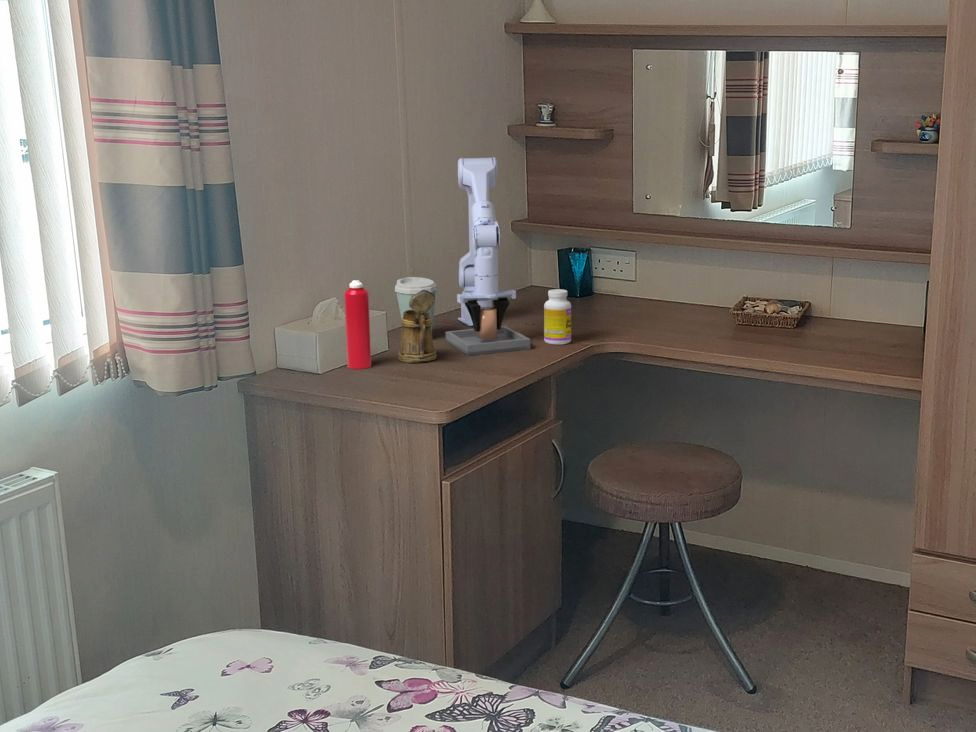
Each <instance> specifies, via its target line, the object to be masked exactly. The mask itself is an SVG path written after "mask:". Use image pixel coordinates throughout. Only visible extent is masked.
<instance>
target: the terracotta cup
mask: <svg viewBox="0 0 976 732" xmlns="http://www.w3.org/2000/svg"><path fill="white" fill-rule="evenodd" d="M479 321H480V331H479V332H477V338H479V339H494V338H497V308H495V307H494V306H492V307H481V308H480V317H479Z"/></svg>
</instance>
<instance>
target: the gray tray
mask: <svg viewBox="0 0 976 732" xmlns="http://www.w3.org/2000/svg"><path fill="white" fill-rule="evenodd" d="M445 342H446V343H447V344H449V345H451V346H452V347H454V348H455V349H457V350H458V351H460V352H461V353H463V354H465V355H466V356H467V357H469V356H470V357H471V356H478V355H479V356H480V355H488V354H498V353H507V352H515V351H517V352H518V351H526V350H527V351H528V350H531V338H530V337H527V336H526V335H524V334H522V333H520V332H518V331H516V330H514V329H512V328H510V327H509V326H507V325H501V329H499V330H498V329H497V338H494V339H479V338H477V332H476V331H475V330H474V328H469V329H460V330H449V331H445Z"/></svg>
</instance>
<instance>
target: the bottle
mask: <svg viewBox="0 0 976 732" xmlns="http://www.w3.org/2000/svg"><path fill="white" fill-rule="evenodd" d="M348 285H349V288H347V289H346V290H345V291H344V294H343V296H344V297H343V299H344V317H345V338H346V339H345V340H346V341H345V342H346V357H347V358H346V359H347V361H346V362H347V368H349V369H351V370H365V369H369V368H371V367H372V347H371V345H372V344H371V343H372V342H371V326H370V325H371V322H370V299H369V296H370V294H369V291H368V289H366V288H364V287H363V286H364V285H363V283H362V282H361V281H360V280H359V279H353V280H352V281H351V282H350V283H349V284H348Z"/></svg>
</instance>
